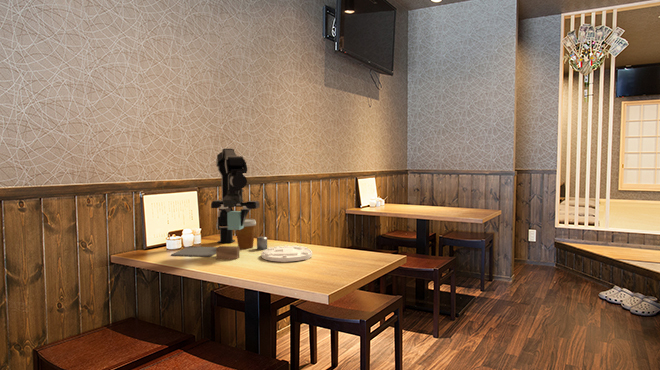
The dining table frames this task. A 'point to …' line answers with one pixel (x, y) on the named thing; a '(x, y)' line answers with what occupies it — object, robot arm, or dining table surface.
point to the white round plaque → (286, 253)
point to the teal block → (234, 220)
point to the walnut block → (227, 252)
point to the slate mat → (196, 251)
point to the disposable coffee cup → (246, 234)
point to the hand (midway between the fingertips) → (235, 225)
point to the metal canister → (261, 243)
